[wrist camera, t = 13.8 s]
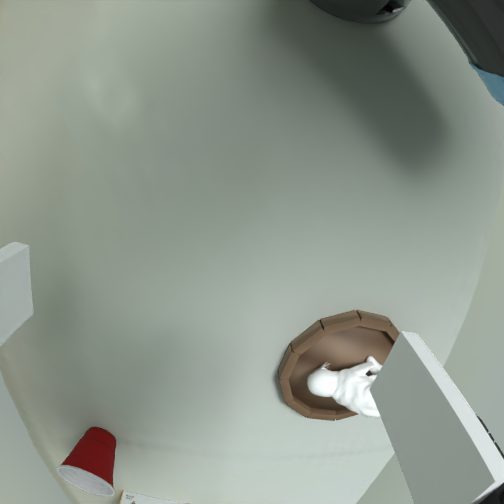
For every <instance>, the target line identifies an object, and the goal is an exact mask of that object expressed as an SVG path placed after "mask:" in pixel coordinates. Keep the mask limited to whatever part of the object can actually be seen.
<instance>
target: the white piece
mask: <svg viewBox="0 0 504 504" xmlns="http://www.w3.org/2000/svg"><path fill="white" fill-rule="evenodd" d="M325 364H326V363H325ZM325 364H324V365H322V366H321V367H320V368H318V369H316V370H315V371H314V372H313V373H312V374H310V375H309V377H308V381H307V383H308V388H309V390H310V391H311V393H313V394H315V395H318V396H322V397H332V398H333V399H334V400H335V401H336V402H337V403H338V404H340V405H343V406H345V407H347V408H348V409H349V410H351V411H354V412H356V413H357V414H361V415H363V416H365V417H375V418H380V417H381V416H380V414H379V411H378V409H377V407H376V404H375V402H374V399H373V397H372V395H371V392H370V390H369V389H370V387H371V385H372V383H373V382H374V380H375V378H376V377H377V375H378V373H379V371H380V370H381V368H382V365H380V364H379V363H378V362H377V361H376V360H375V359H374V358H373V357H372V356H368V357H367V361H366V363H363V364H360V365H357V366H354V367H352V368H350V369H343V370H341V371H330V370H327V369H326V368H325V366H327V365H329V364H327V365H325ZM369 370H370V371H371V373H372V374H373V375H371V376H367V375H366V373H367V372H368V371H369Z"/></svg>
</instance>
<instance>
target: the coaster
mask: <svg viewBox="0 0 504 504" xmlns="http://www.w3.org/2000/svg"><path fill="white" fill-rule="evenodd" d="M399 334H400V333H399V331H398V330H397V329H396V328H395V326H394V325H393V324H392V323H391V321H390V320H389V319H388V318H387V317H386V316H381V315H377V314H373V313H368V312H364V311H360V310H357V311H355V310H353V311H349V312H346V313H342V314H338V315H334V316H331V317H327V318H323V319H321V321H319V320H318V321H317V322H316V323H314V324H313V325H312V326H311V327H309V328H308V329H307V330H305V331H304V332H303V333H302V334H300V335H299V336H298V337H297V338H295V339H294V340H293V341H291V344H289V346H288V348H287V351H286V353H285V355H284V358H283V360H282V362H281V364H280V367H279V369H278V375H279V381H280V385H281V389H282V393H283V396H284V400H285V403H286V404H287V405H288V406H290V407H291V408H293V409H294V410H295V411H297V412H298V413H300V414H301V415H303V416H304V417H307V418H311V419H321V420H332V421H334V420H335V419H336V420H340V419H344V418H347V417H351V416H354V415H358V414H357V413H356V412H354V411H351V410H349V409H348V408H347V407H345V406H343V405H340V404H338V403H337V402H336V401H335V400H334V399H333V398H332V397H322V396H318V395H315V394H313V393H311V391H310V390H309V388H308V383H307V381H308V377H309V375H310V374H312V373H313V372H314V371H315V370H316V369H318V368H320V367H321V366H322V365H324V364H325V363H326V364H325V365H327V364H329V365H327V366H325V368H326V369H327V370H330V371H341V370H343V369H350V368H352V367H354V366H357V365H360V364H363V363H366V361H367V357H368V356H372V357H373V358H374V359H375V360H376V361H377V362H378V363H379V364H380V365H382V366H383V364H384V362H385V360H386V359H387V357H388V355H389V353H390V351H391V349H392V347H393V345H394V343H395V342H396V340H397V338H398V336H399ZM366 375H367V376H371V375H373V374H372V373H371V371H370V370H369V371H368V372H367V373H366Z"/></svg>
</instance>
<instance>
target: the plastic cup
mask: <svg viewBox="0 0 504 504" xmlns="http://www.w3.org/2000/svg"><path fill="white" fill-rule="evenodd" d="M115 448H116V440H115V437H114V436H113V435H112V434H111V433H109V432H108V431H106V430H104V429H102V428H98V427H91V428H90V429H89V430H88V431H87V432H86V433H85V435H84V436H83V437H82V439H80V441H79V442H78V443H77V445H76V446H75V447H74V449H73V450H72V452H71V453H70V454H69V456H68V457H67V458H66V459H65V461H64V462H63V463H62V464H61V465H60V466H58V467H57V468H56V470H57V473H58V474H59V475H60V476H61V477H62V478H63V479H64V480H65V481H67V482H68V483H70V484H71V485H73V486H75V487H77V488H79V489H81V490H83V491H86V492H89V493H91V494H95V495H99V496H108V497H110V496H113V495H114V494H115V489H114V488H113V468H114V459H115Z"/></svg>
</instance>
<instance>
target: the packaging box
mask: <svg viewBox="0 0 504 504" xmlns="http://www.w3.org/2000/svg"><path fill="white" fill-rule="evenodd" d="M119 504H188V503H182V502H176V501H170V500H165V499H160V498H155V497H150V496H145V495H141V494H137V493H133V492H129V491H125V490H123V492H122V496H121V499H120V503H119Z"/></svg>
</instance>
